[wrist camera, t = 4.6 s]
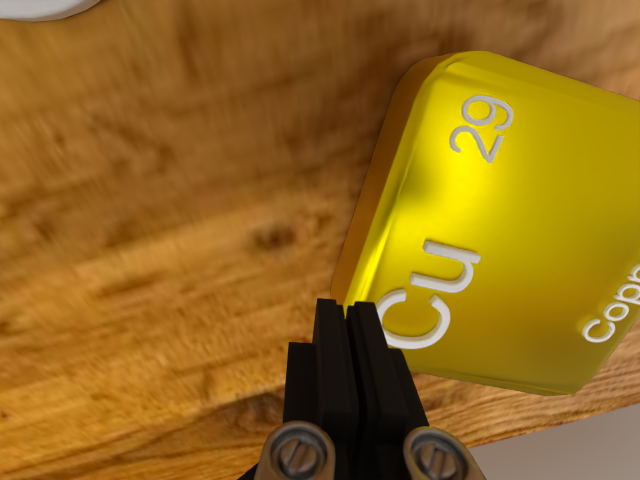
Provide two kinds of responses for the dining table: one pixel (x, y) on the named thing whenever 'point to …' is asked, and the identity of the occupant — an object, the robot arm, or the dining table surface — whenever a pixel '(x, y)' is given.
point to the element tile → (500, 224)
